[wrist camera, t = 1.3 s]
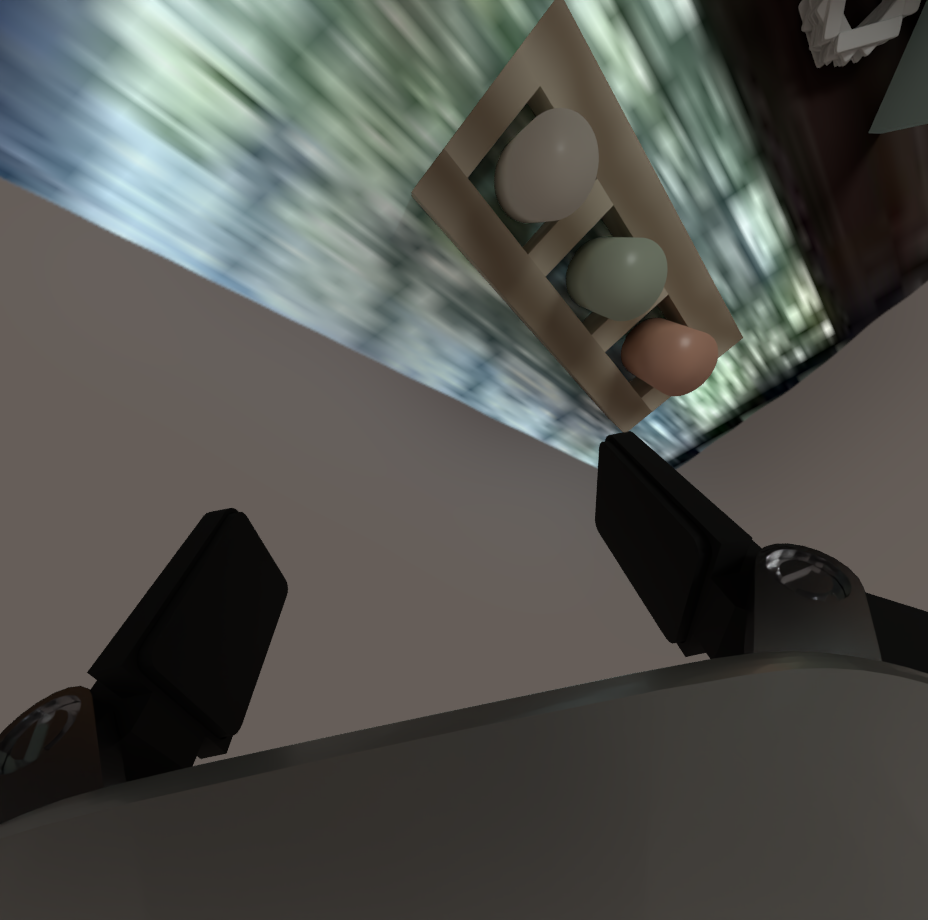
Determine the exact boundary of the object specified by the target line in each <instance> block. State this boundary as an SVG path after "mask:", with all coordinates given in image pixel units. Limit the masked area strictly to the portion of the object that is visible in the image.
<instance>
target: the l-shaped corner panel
mask: <svg viewBox="0 0 928 920" xmlns="http://www.w3.org/2000/svg"><path fill="white" fill-rule="evenodd" d="M920 2H921V0H882V2H881V3H880V4H879V5H878V6H877V7H876V8H875V9H874V10H873V11H872V12H871V13H870V14H869V15H868V16H867V17H866V18H865V19H864V20H863V21H862V22H861V23H860V24H859V25H858V26H857V27H856V28H855V29H851V27H850V25H849V23H848V21H847V19H846V17H845V15H844V8H845V3H846V0H802V1H801V2H800V4H799V6H798V9H799V12H800V16H801V19H802V23H803V24H802V27H801V31H803V32H805V33H806V37H807V40H808V43H809V50H810V51H811V53H812V56H813V59H814V62H815V65H816V67H817V68H820V67H822V66H823V65H824V64H825V65H826V66H827V65H828V64H830V63H831V62H832V61H833V63H834V67H836V66H839V67H840V66H841V65H842V67H843V66H845V65H846V64H847V63H848V62H849V61H850V60H852V62H853V63H855V62H856V63H857V62H858V61H859V60H860V59H861V58H862V56H864V57H865V56H867V55H869V54H870V53H871V52H872V50H873V49H874V48H875V47H876V46H878V45H881V44H884V43H886V42H887V41H888V40H890V39H893V38H895V37H897V36H898V35H899V32H900V28H901V23H902V18H904V17H906V16H908V15H911V14H913V13H915V12H916V11H917V10H918V8H919V5H920ZM923 124H928V0H927V1H926V3H925V6H924V8H923V10H922V12H921V15H920V17H919V19H918V21H917V24H916V26H915V28H914V31H913V33H912V35H911V37H910V40H909V42H908V44H907V46H906V49H905V51H904V53H903V55H902V58H901V60H900V62H899V65H898V67H897V69H896V71H895V74H894V76H893V78H892V80H891V83H890V85H889V87H888V90H887V92H886V94H885V96H884V99H883V101H882V103H881V105H880V108H879V110H878V112H877V115H876V117H875V119H874V121H873V124H872V126H871V128H870V130H869V133H875V134H882V133H886V132H891V131H896V130H900V129H905V128H909V127H914V126H919V125H923Z"/></svg>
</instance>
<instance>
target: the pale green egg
mask: <svg viewBox="0 0 928 920" xmlns="http://www.w3.org/2000/svg"><path fill="white" fill-rule="evenodd" d="M666 278H667V260H666V256H665V254H664V252H663V250H662V248H661V247H660V246H659V245H658V244H657V243H656V242H654V241H652V240H650V239H647V238H635V237H599V238H595V239H592V240H590V241H588V242H586V243H585V244H584V245H582V246H581V247H580V248H579V249H578V250H577V251H576V253H575V254H574V255H573V257H572V259H571V261H570V263H569V265H568V269H567V273H566V287H567V291H568V294H569V296H570V297H571V299H572V300H573V301H574V302H575V303H576V304H577V305H579V306H581V307H583V308H585V309H588V310H590V311H592V312H595V313H597V314H600V315H602V316H604V317H607V318H609V319H611V320H615V321H628V320H632V319H635V318H637V317H639V316H641V315H642V314H644V313H645V312H646V311H647V310H649V309H650V308H651V307H652V306H653V304H654V303H655V302H656V301H657V299H658V298H659V296H660V294H661V292H662V290H663V288H664V285H665V282H666Z"/></svg>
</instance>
